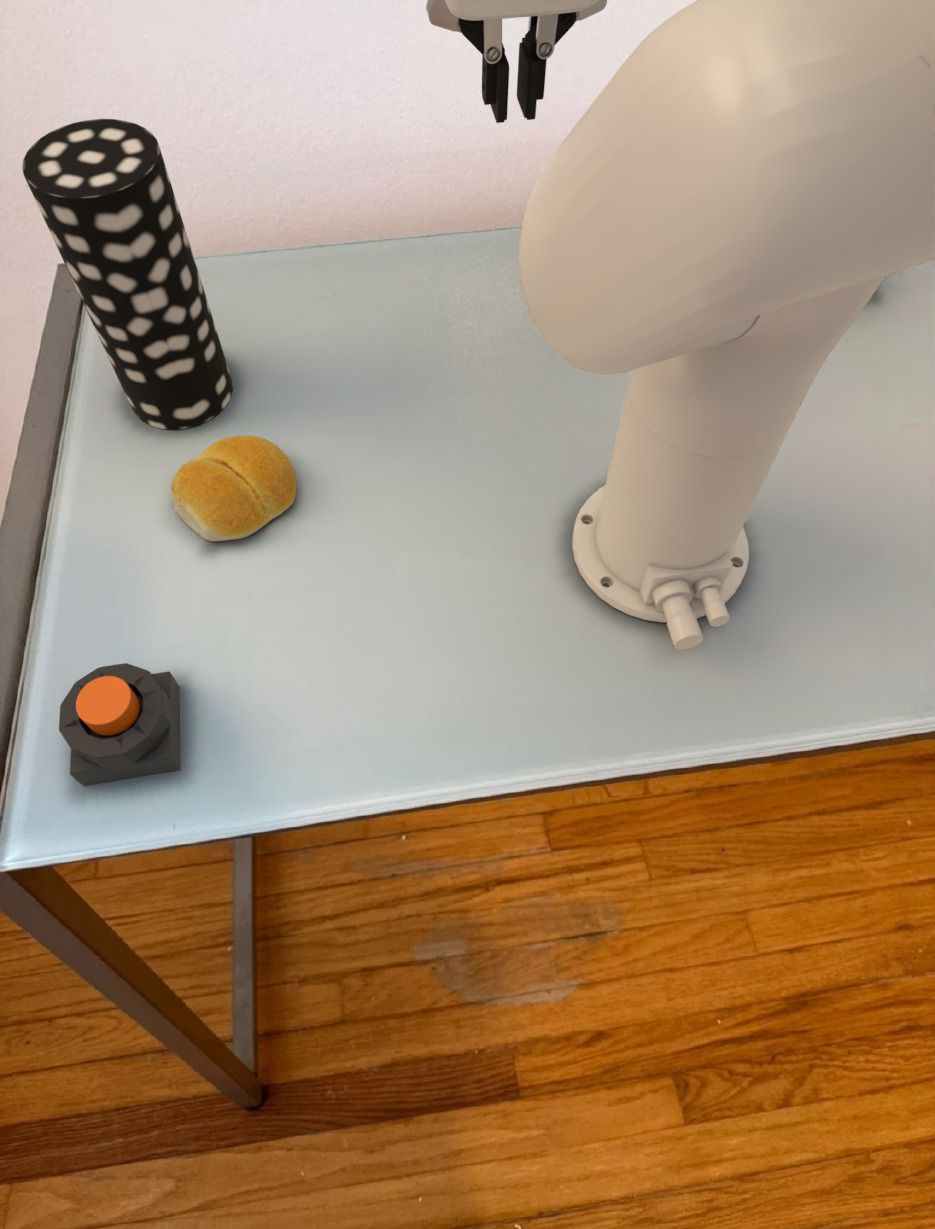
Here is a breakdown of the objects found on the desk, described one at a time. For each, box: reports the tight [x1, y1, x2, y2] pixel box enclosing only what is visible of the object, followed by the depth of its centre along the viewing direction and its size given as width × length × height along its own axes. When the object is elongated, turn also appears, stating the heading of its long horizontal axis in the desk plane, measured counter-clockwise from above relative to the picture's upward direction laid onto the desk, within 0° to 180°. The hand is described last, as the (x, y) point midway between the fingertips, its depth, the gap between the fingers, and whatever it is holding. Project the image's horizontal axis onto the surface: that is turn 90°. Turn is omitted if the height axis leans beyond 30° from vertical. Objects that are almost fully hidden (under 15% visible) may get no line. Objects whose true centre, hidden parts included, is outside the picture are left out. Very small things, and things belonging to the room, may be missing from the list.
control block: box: [58, 662, 181, 787], centre depth 54 cm, size 6×6×4 cm
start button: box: [76, 676, 140, 736], centre depth 52 cm, size 3×3×2 cm
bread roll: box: [170, 435, 297, 542], centre depth 64 cm, size 8×9×4 cm
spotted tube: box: [21, 118, 234, 431], centre depth 62 cm, size 8×8×20 cm
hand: (511, 109), depth 62 cm, fingers closed
